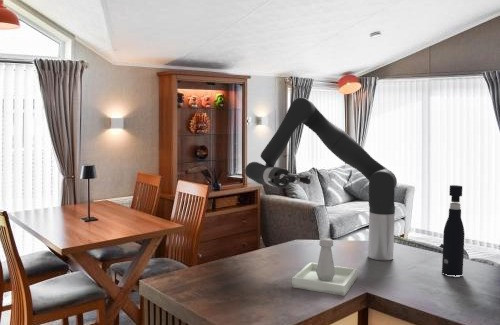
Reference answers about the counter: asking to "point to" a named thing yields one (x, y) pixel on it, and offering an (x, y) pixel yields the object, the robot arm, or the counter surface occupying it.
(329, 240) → the salt shaker
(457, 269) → the black bottle
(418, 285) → the counter surface
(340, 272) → the tray
